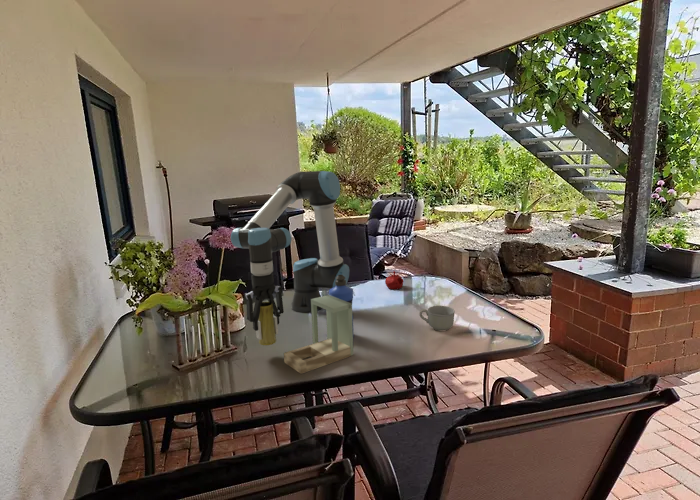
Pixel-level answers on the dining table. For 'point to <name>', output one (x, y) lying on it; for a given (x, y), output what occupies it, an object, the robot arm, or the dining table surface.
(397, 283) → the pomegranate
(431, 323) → the teacup
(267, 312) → the vase
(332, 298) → the pale green stool
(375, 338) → the dining table surface
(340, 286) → the water bottle
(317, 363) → the socket block
